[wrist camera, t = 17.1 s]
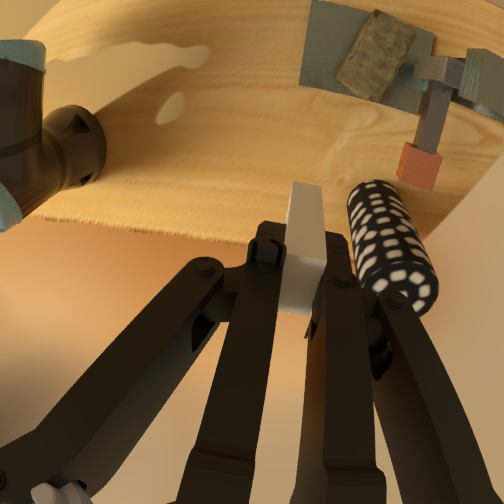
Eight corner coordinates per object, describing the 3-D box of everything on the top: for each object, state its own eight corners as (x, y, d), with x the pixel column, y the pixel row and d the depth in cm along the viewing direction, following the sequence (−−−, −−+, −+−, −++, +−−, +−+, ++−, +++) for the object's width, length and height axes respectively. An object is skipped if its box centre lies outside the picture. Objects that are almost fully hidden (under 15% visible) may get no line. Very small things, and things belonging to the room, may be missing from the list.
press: (299, 83, 37) (279, 107, 17) (312, 1, 30) (305, -67, 10) (439, 122, 35) (537, 192, 16) (456, 45, 28) (571, 52, 9)
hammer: (386, 160, 33) (406, 191, 26) (411, 54, 26) (442, 53, 18) (414, 168, 33) (439, 201, 25) (440, 65, 25) (477, 69, 18)
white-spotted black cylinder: (395, 174, 41) (439, 252, 25) (403, 224, 45) (437, 317, 29) (341, 186, 44) (352, 270, 28) (352, 234, 48) (363, 331, 32)
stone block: (409, 33, 28) (421, 30, 24) (371, 103, 35) (378, 109, 31) (369, 10, 28) (375, 3, 24) (331, 82, 35) (333, 84, 31)
